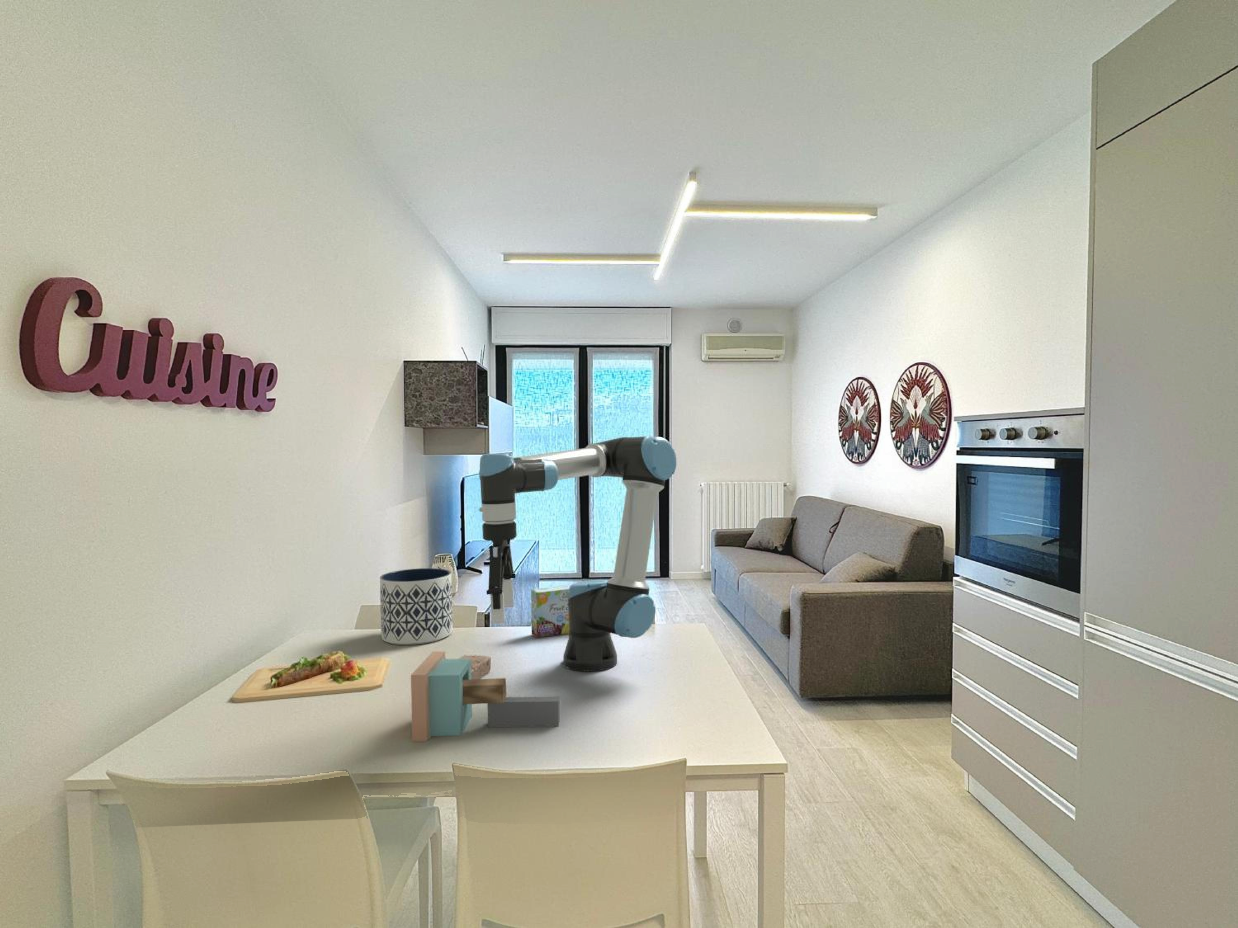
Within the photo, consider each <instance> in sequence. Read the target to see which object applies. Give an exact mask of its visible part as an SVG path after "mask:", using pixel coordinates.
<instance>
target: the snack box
mask: <svg viewBox="0 0 1238 928" xmlns="http://www.w3.org/2000/svg"><path fill="white" fill-rule="evenodd" d="M571 585H572V584H569V585H560V586H550V587H544V588H533V589H531V590H530V591H531V592H530V595H531V596H530V599H531V602H530V603H531V605H530V606H531V607H530V609H531V610H530V611H531V614H530V615H531V616H530V617H531V619H530V620H531V622H530V623H531V635H533V636H534V637H535V638H537V639H541V638H544V637H552V636H561V635H566V634H568V635H569V608H568V597H569V587H570V586H571Z"/></svg>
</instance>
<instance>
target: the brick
mask: <svg viewBox="0 0 1238 928" xmlns="http://www.w3.org/2000/svg"><path fill="white" fill-rule="evenodd" d="M458 659H471V679H483V678H484V677H485V676H487V674H488V673H490V672H491V668H492V661H491V660H492V658H491V656H488V655H481V654H480V655H476V654H475V655H473V654H471V655H469V654H468V655H467V654H464V655H461V656H460V657H459V658H458Z"/></svg>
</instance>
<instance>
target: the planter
mask: <svg viewBox="0 0 1238 928" xmlns="http://www.w3.org/2000/svg"><path fill="white" fill-rule="evenodd" d="M452 580H453V579H452V571H451V570H448V569H444V568H433V567H432V568H429V567H428V568H427V567H426V568H423V567H422V568H409V569H400V570H396V571H395V570H394V571H390V572H386V573H383V574H382V575H381V576H380V577H379V595H380V596H379V597H380V598H379V599H380V600H379V601H380V634H381V639H382V640H383V641H384V642H385V643H388V644H391V645H398V646H413V645H414V646H415V645H424V644H429V643H435V642H438V641H441V640H443V639H445V638H447V637H449V636H450V635H451V634H452V633H453V628H454V626H453V623H454V622H453V586H452V585H453V582H452Z"/></svg>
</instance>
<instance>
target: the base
mask: <svg viewBox="0 0 1238 928" xmlns="http://www.w3.org/2000/svg"><path fill="white" fill-rule="evenodd" d="M442 659H446V651H445V650H444V651H443V650H442V651H431V653H430V654H429V655H428V656H426V658H425V659H424V660H423V661H422V663H421V664H419V666H418V667H417V668H416V669H415V670H414V671H413V672H412V673H411V675H410V691H411V697H410V698H411V699H410V700H411V735H412V738H411V739H412V742H427V741H428V740H429V739H430V737H431V736H430V706H429V675H430V674H431V672H432V671H433V670H434V669H435V668H436V666H437V665H438V664H439V663H440V662H441V660H442Z"/></svg>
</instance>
